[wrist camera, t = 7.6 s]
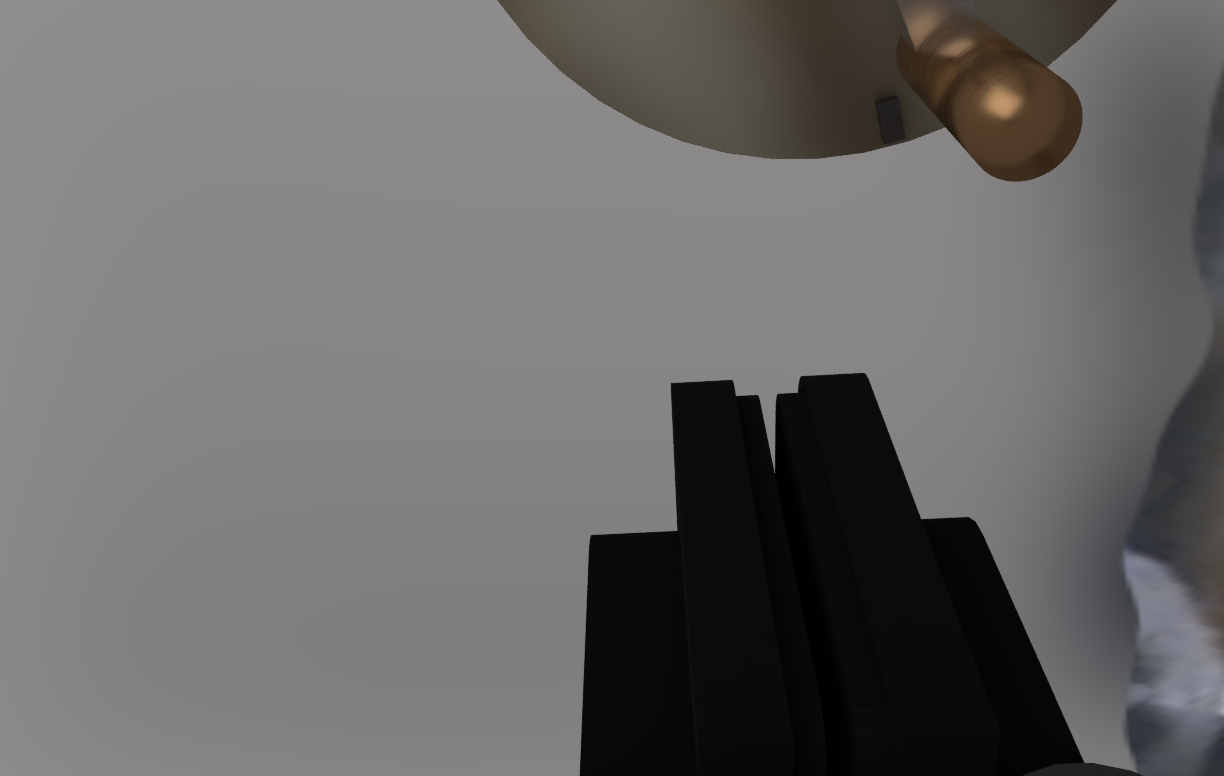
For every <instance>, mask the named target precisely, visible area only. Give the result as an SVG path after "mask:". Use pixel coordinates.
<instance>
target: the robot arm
mask: <svg viewBox="0 0 1224 776" xmlns="http://www.w3.org/2000/svg"><path fill="white" fill-rule="evenodd" d="M671 400H672V423H673V444H674V465H675V487H676V509H677V528H678V531H667V532H646V533H626V534H605V535H591V537H590V545H589V562H588V563H589V564H588V586H587V612H586V635H585V661H584V685H583V710H582V735H581V759H580V776H1143V775H1140V774H1138V773H1135V772H1133V771H1130V770H1125V769H1120V768H1115V767H1110V766H1105V765H1100V764H1095V763H1084V761H1083V759H1082V756H1081V754H1080V752H1079V750H1078V747H1077V745H1076V743H1075V741H1074V739H1073V736H1072V734H1071V732H1070V729H1069V727H1068V725H1067V723H1066V720H1065V719H1064V716H1063V714H1062V711H1061V709H1060V707H1059V705H1058V702H1057V700H1056V698H1055V696H1054V693H1053V691H1052V689H1051V687H1050V685H1049V682H1048V680H1047V678H1046V675H1045V673H1044V671H1043V669H1042V666H1041V664H1040V662H1039V660H1038V658H1037V655H1036V653H1035V651H1034V648H1033V646H1032V644H1031V642H1030V639H1029V637H1028V635H1027V633H1026V630H1025V628H1024V626H1023V624H1022V621H1021V619H1020V617H1019V615H1018V612H1017V610H1016V608H1015V606H1014V603H1013V601H1012V599H1011V597H1010V594H1009V592H1008V590H1007V588H1006V585H1005V583H1004V581H1003V579H1002V576H1001V575H1000V572H999V570H998V568H997V566H996V563H995V561H994V558H993V556H992V554H991V552H990V550H989V547H988V545H987V543H986V541H985V538H984V536H983V534H982V532H981V531H980V529H979V527H978V525H977V523H976V522H975V521H974V520H972V519H971V518H969V517H959V518H938V519H921V518H920V515H919V512H918V510H917V507H916V504H915V502H914V499H913V496H912V494H911V491H910V488H909V486H908V483H907V480H906V478H905V475H904V472H903V470H902V467H901V464H900V462H899V459H898V456H897V454H896V451H895V449H894V446H893V443H892V440H891V438H890V435H889V432H888V430H887V427H886V424H885V422H884V419H883V416H882V414H881V411H880V409H879V406H878V403H877V400H876V398H875V395H874V392H873V390H872V387H871V384H870V382H869V379H868V377H867V375H866V374H865V373H853V374H834V375H816V376H801V378H800V380H799V386H798V393H786V394H777V398H776V423H775V429H776V430H775V473H774V468H773V463H772V458H771V453H770V448H769V443H768V438H767V433H766V428H765V424H764V419H763V414H762V409H761V404H760V399H759V396H758V395H748V396H736V394H735V388H734V383H733V381H732V380H722V381H704V382H684V383H671Z"/></svg>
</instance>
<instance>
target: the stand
mask: <svg viewBox="0 0 1224 776" xmlns="http://www.w3.org/2000/svg"><path fill="white" fill-rule="evenodd" d="M1116 1H1117V0H973V3H974V6H975V9H976V12H977V14H978V17H979V18H980V19H981V20H982V21H984V22H985V23H986V24H988V25H989V26H991V27H992V28H993V29H995V30H996V31H997V32H999V33H1000V34H1002V35H1003V36H1004V37H1006V38H1007V39H1008V40H1010V41H1011V42H1013V43H1014V44H1015V45H1017V46H1018V47H1019V48H1021V49H1022V50H1023V51H1025V52H1026V53H1028V54H1029V55H1030V56H1032V57H1033V58H1034V59H1036V60H1037V61H1039V62H1040V63H1041V64H1043V65H1044V66H1045V67H1047V66H1048V65H1050V64H1051V63H1052V62H1053V61H1054V60H1056V59H1057V58H1058V57H1059V56H1060V55H1061V54H1063V52H1065V51H1066V50H1067V49H1068V48H1069V47H1071V46H1072V45H1073V44H1074V43H1076V42H1077V41H1078V40H1079V39H1080V38H1082V37H1083V35H1084V34H1085V33H1086V32H1087V31H1088V30H1089V29H1090V28H1091V27H1092V26H1093V25H1094V24H1095V23H1096V22H1097V21H1098V20H1099V19H1100V18H1101V17H1102V15H1103V14H1104V13H1105V12H1106V11H1107V10H1108V9H1109V8H1110V7H1111V6H1112V5H1113V4H1114V3H1115V2H1116ZM498 2H499V3H500V4H501V5H502V6H503V8H504V9H505V10H506V12H507V13H508V14H509V15H510V17H511V18H512V19H513V21H514V22H515V23H516V24H517V26H518V27H519V28H520V29H521V31H522V32H523V33H524V35H525V36H526V37H527V38H528V39H529V40H530V41H531V42H532V43H533V44H534V45H535V46H536V47H537V48H538V49H539V50H540V51H541V52H542V53H543V54H544V55H545V56H546V57H547V58H548V59H549V60H550V61H551V62H552V63H553V64H554V65H555V66H556V67H557V68H558V69H559V70H560V71H561V72H562V73H564V74H565V75H566V76H568V77H569V78H571V79H572V80H573V81H574V82H576V83H577V84H578V85H579V86H581V87H582V88H583V89H585V90H586V91H587V92H589V93H590V94H591V95H593V96H594V97H595V98H597V99H598V100H599V101H601V102H603V103H605V104H606V105H608V106H610V107H612V108H613V109H615V110H617V111H618V112H620V113H622V114H624V115H625V116H627V117H629V118H631V119H632V120H634V121H636V122H638V123H639V124H642V125H644V126H647V127H649V128H652V129H654V130H656V131H659V132H661V133H664V134H666V135H669V136H671V137H673V138H676V139H678V140H681V141H683V142H687V143H691V144H695V145H699V146H703V147H706V148H710V149H714V150H717V151H721V152H725V153H731V154H739V155H747V156H755V157H763V158H771V159H789V158H790V159H793V158H794V159H812V158H813V159H818V158H826V157H833V156H841V155H848V154H857V153H864V152H868V151H872V150H876V149H880V148H884V147H888V146H892V145H895V144H900V143H904V142H907V141H911V140H913V139H915V138H918V137H921V136H924V135H926V134H929V133H931V132H934V131H937V130H939V129H942V128H944V127H945V126H944V125H943V124H942V123H941V122H940V120H939V119H938V118H937V117H936V116H935V115H934V114H933V113H932V111H931V110H930V109H929V108H928V107H927V106H926V105H925V103H924V102H923V101H922V100H921V99H920V98H919V97H918V96H917V94H916V93H915V92H914V91H913V90H912V89H911V88H910V86H909V85H908V84H907V83H906V82H905V81H904V79H903V78H902V76H901V75H900V72H899V70H898V67H897V62H896V49H897V45H898V41H899V38H900V36H901V31H900V29H899V26H898V24H897V21H896V18H895V16H894V13H893V11H892V8H891V5H890V3H889V0H498Z"/></svg>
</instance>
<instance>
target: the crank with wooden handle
mask: <svg viewBox="0 0 1224 776" xmlns="http://www.w3.org/2000/svg"><path fill="white" fill-rule="evenodd" d="M889 3H890V5H891V8H892V11H893V13H894V16H895V18H896V21H897V24H898V26H899V29H900V31H901V36H900V38H899V41H898V45H897V49H896V62H897V67H898V70H899V72H900V75H901V76H902V78H903V79H904V81H905V82H906V83H907V84H908V85H909V86H910V88H911V89H912V90H913V91H914V92H915V93H916V94H917V96H918V97H919V98H920V99H921V100H922V101H923V102H924V103H925V105H926V106H927V107H928V108H929V109H930V110H931V111H932V113H933V114H934V115H935V116H936V117H937V118H938V119H939V120H940V122H941V123H942V124H943V125H944V126H945V127H946V128H947V129H948V131H949V132H950V133H951V134H952V135H953V136H954V137H955V139H956V140H957V141H958V142H959V143H960V144H961V145H962V147H963V148H964V149H965V150H966V151H967V152H968V153H969V154H970V156H971V157H972V158H973V159H974V160H975V161H976V162H977V164H978V165H979V166H980V167H981V168H982V169H983V170H984V171H986V172H987V173H988V174H990V175H991V176H994V177H996V178H998V179H1002V180H1005V181H1026V180H1031V179H1034V178H1037V177H1040V176H1042V175H1044V174H1046V173H1048V172H1050V171H1051V170H1053V169H1054V168H1055V167H1057V166H1058V165H1059V164H1060V163H1061V162H1062V161H1063V160H1064V159H1065V158H1066V157H1067V156H1068V155H1069V153H1070V152H1071V151H1072V149H1073V147H1074V145H1075V144H1076V142H1077V139H1078V137H1079V134H1080V131H1081V126H1082V107H1081V103H1080V100H1079V98H1078V96H1077V94H1076V93H1075V91H1074V89H1073V88H1072V87H1071V86H1070V85H1069V84H1068V83H1067V82H1066V81H1065V80H1063V79H1061V78H1060V77H1059V76H1058V75H1056V74H1055V73H1053V72H1052V71H1051V70H1049V69H1048V68H1047V67H1045V66H1044V65H1043V64H1041V63H1040V62H1039V61H1037V60H1036V59H1034V58H1033V57H1032V56H1030V55H1029V54H1028V53H1026V52H1025V51H1023V50H1022V49H1021V48H1019V47H1018V46H1017V45H1015V44H1014V43H1013V42H1011V41H1010V40H1008V39H1007V38H1006V37H1004V36H1003V35H1002V34H1000V33H999V32H997V31H996V30H995V29H993V28H992V27H991V26H989V25H988V24H986V23H985V22H984V21H982V20H981V19H980V18H979V17H978V14H977V12H976V9H975V6H974V3H973V0H889Z"/></svg>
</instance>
